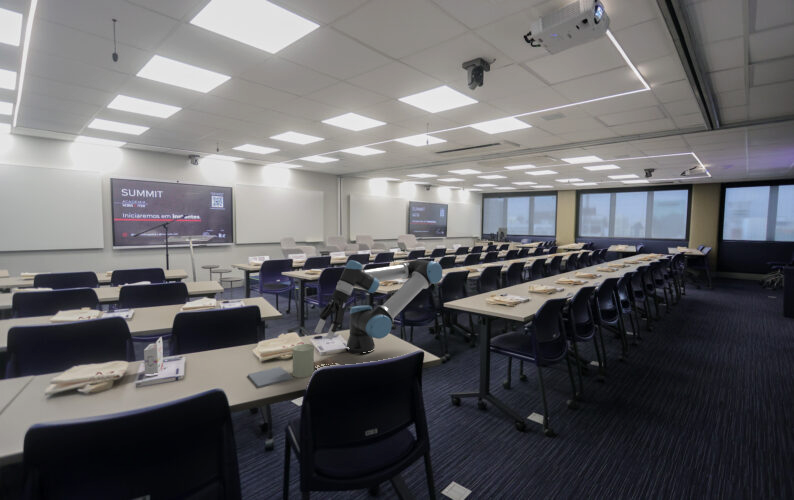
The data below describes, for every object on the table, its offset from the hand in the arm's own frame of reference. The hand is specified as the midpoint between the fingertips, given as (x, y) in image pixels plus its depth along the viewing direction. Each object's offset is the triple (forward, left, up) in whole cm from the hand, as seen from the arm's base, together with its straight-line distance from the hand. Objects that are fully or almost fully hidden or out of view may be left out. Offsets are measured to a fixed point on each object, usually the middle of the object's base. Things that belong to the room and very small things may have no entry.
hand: (322, 336), depth 154 cm
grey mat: (+21, -6, -16) cm, 27 cm away
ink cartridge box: (+59, -40, -16) cm, 73 cm away
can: (+8, -2, -16) cm, 18 cm away
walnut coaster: (-4, -4, -16) cm, 17 cm away
